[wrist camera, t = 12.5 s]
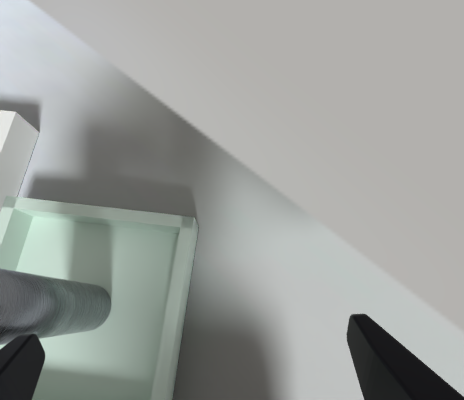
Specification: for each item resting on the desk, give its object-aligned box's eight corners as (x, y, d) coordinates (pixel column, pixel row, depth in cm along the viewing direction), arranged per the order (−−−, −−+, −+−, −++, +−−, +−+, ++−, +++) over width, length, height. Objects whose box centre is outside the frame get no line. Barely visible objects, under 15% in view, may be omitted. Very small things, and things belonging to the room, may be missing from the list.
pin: (104, 342, 21) (-121, 402, 8) (53, 328, 21) (-251, 362, 8) (123, 287, 22) (-45, 254, 9) (74, 274, 22) (-160, 224, 9)
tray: (168, 427, 20) (157, 447, 17) (-30, 399, 21) (-72, 414, 18) (198, 227, 24) (194, 216, 21) (32, 208, 25) (6, 195, 22)
